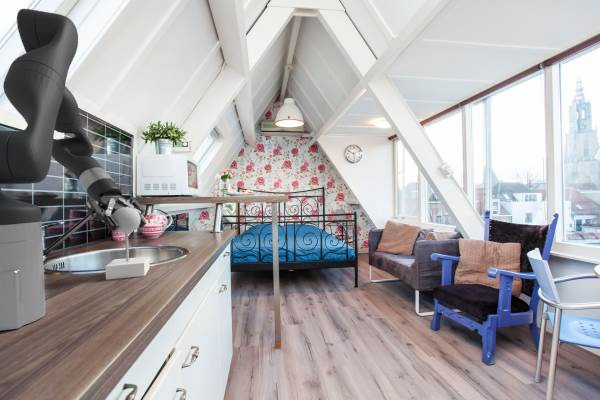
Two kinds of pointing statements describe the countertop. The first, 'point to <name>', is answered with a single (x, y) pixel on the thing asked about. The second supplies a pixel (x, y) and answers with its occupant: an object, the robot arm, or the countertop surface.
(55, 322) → the countertop surface
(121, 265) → the white soap bar
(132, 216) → the lollipop
